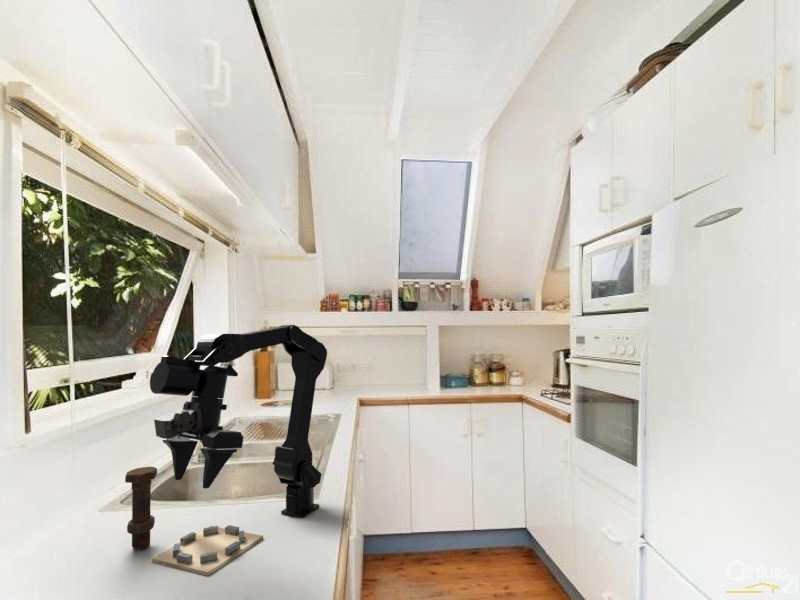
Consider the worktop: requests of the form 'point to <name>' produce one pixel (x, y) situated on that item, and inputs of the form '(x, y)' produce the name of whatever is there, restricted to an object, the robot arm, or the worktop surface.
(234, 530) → the castellated ring
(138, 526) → the bolt
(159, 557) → the tan flat square board
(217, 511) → the worktop surface
